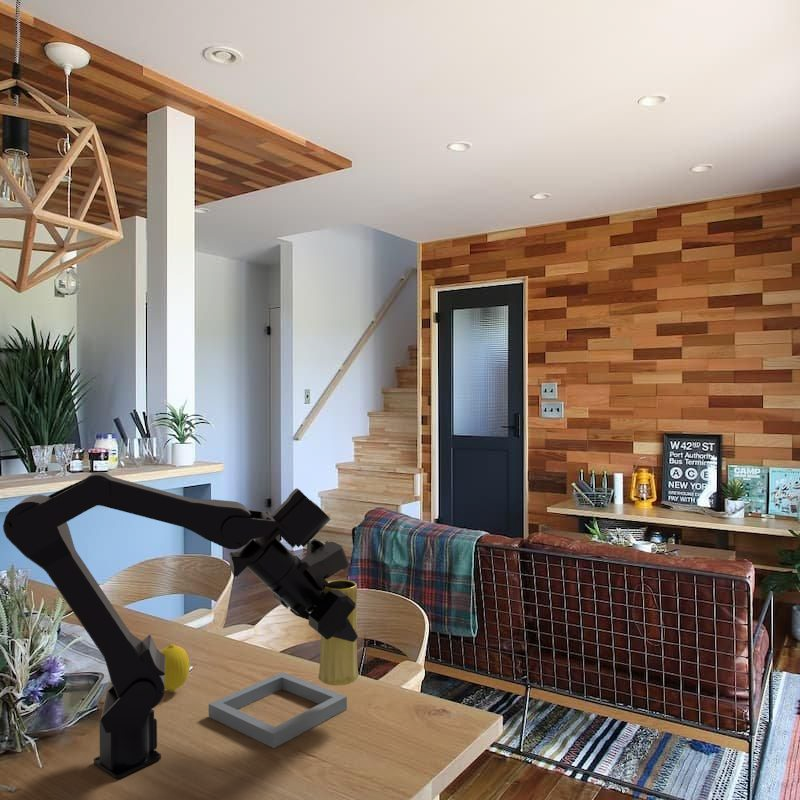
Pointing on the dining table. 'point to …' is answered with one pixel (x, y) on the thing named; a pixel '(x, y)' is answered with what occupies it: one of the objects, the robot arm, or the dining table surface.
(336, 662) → the vase
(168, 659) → the lemon
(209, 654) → the dining table surface
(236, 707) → the stand
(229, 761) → the dining table surface
